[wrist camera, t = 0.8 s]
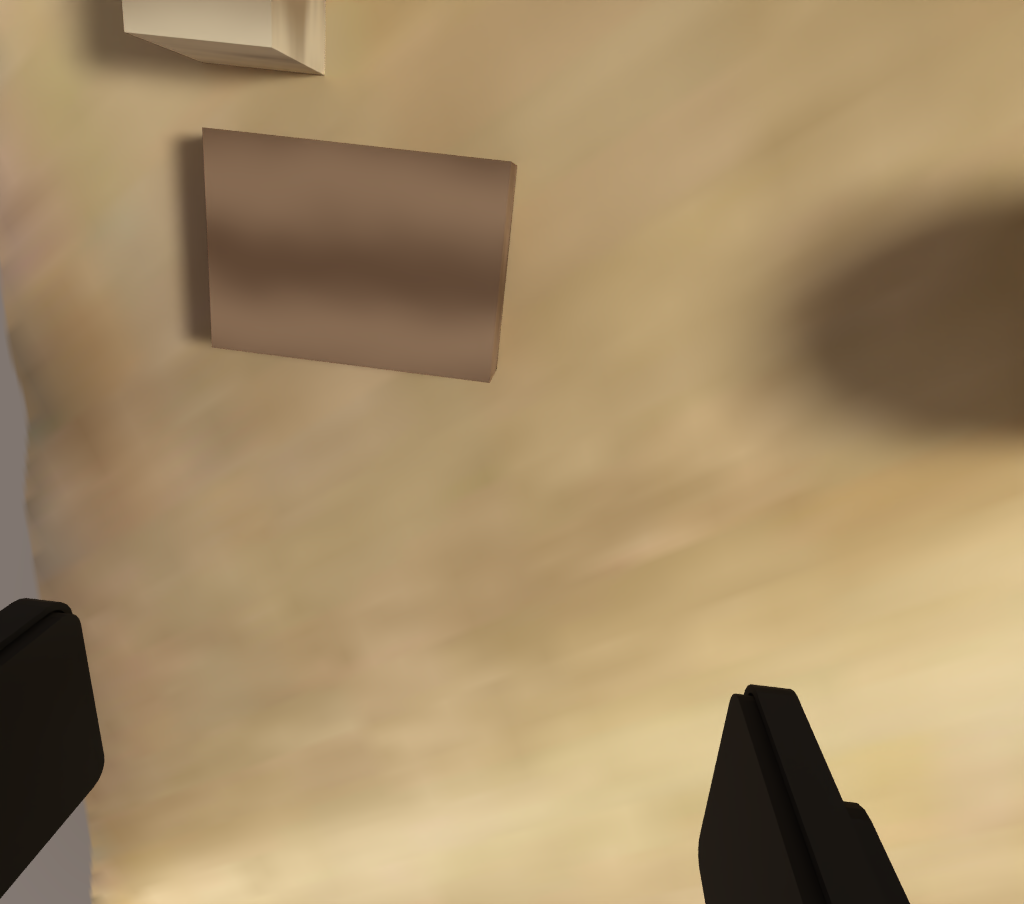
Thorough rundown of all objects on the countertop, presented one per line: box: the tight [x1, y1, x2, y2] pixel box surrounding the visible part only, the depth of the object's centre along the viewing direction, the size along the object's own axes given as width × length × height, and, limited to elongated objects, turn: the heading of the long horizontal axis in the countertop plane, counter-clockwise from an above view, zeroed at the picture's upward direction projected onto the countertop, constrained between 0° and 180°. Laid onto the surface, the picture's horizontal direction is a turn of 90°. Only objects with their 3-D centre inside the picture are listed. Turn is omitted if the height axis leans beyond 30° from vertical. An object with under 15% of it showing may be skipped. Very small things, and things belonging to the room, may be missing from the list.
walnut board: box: [202, 127, 517, 383], centre depth 33 cm, size 10×14×3 cm
